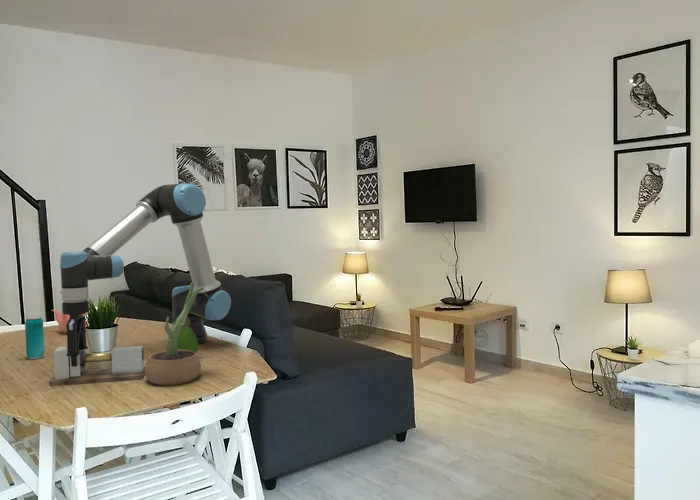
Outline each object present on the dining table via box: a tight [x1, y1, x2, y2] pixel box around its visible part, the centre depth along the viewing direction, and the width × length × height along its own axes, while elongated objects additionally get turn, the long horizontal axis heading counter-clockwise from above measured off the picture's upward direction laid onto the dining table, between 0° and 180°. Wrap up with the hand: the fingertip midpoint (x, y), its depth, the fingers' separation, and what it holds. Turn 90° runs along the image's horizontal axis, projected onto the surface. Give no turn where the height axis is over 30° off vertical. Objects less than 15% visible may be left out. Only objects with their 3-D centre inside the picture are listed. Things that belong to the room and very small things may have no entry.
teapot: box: [51, 309, 87, 335], centre depth 253 cm, size 14×14×11 cm
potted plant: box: [144, 282, 212, 386], centre depth 179 cm, size 22×18×30 cm
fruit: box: [177, 327, 199, 353], centre depth 203 cm, size 8×8×12 cm
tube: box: [69, 349, 112, 367], centre depth 180 cm, size 19×5×5 cm, turn 103°
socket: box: [53, 346, 71, 379], centre depth 178 cm, size 4×6×10 cm, turn 13°
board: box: [48, 366, 146, 386], centre depth 181 cm, size 27×11×1 cm, turn 103°
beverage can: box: [24, 315, 45, 360], centre depth 206 cm, size 6×6×15 cm
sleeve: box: [110, 345, 145, 375], centre depth 182 cm, size 9×5×8 cm, turn 103°
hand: (78, 372), depth 179 cm, fingers open, 6 cm apart
